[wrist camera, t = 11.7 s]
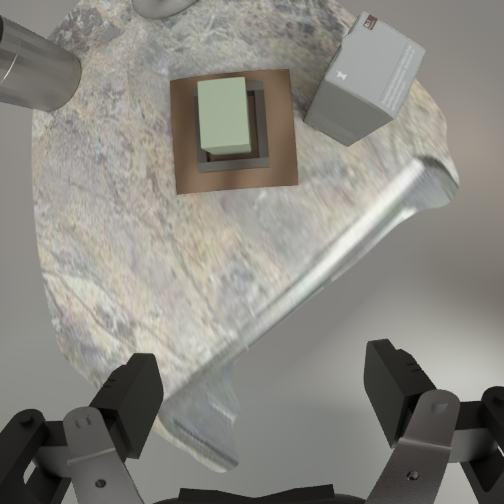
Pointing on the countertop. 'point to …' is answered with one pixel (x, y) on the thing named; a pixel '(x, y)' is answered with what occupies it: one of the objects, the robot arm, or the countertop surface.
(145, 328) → the countertop surface
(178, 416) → the countertop surface
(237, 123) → the keyed peg
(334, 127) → the skincare box
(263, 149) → the keyed socket board
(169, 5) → the donut
